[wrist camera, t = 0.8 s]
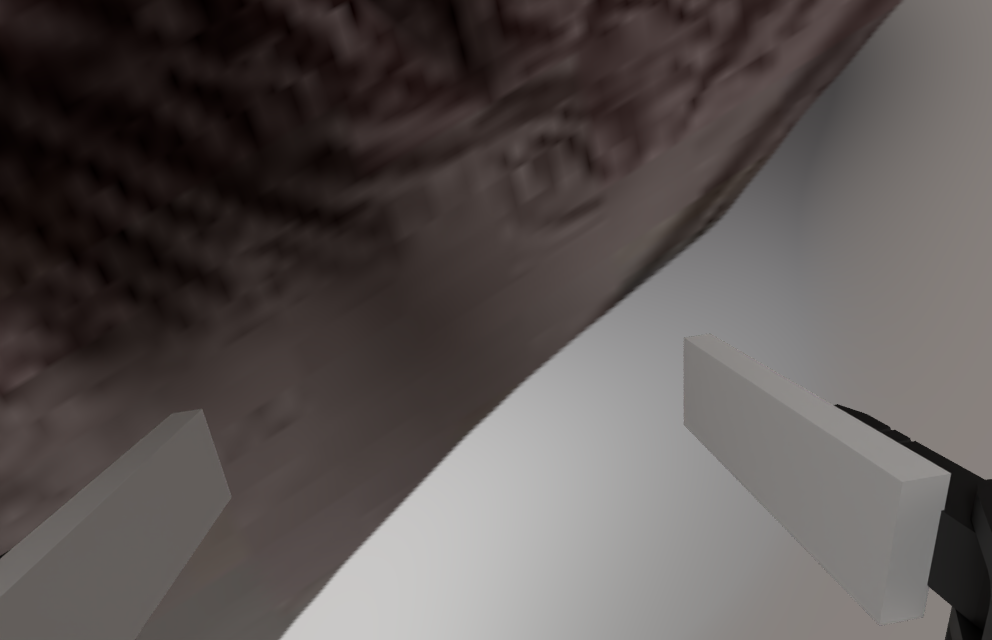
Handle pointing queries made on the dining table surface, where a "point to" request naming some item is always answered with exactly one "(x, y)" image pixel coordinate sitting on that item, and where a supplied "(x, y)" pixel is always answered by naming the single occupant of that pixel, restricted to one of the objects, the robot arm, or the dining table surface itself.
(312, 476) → the dining table surface
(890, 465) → the robot arm
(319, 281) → the dining table surface
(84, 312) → the dining table surface
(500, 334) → the dining table surface
